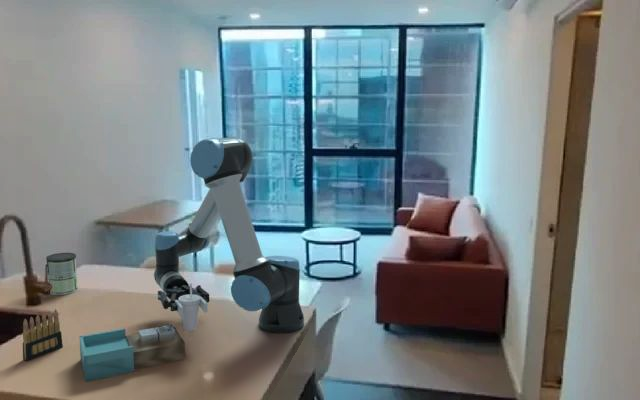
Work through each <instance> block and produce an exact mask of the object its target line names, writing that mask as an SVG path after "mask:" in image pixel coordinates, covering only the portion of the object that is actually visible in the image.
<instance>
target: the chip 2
mask: <svg viewBox="0 0 640 400" xmlns="http://www.w3.org/2000/svg"><path fill="white" fill-rule="evenodd" d="M173 327H174V326H173V325H172V324H166V325H161V326H156V327H155V329H156V331H157V332H158V340H159V341H165V340H170V339H175V329H176V328H175V329H174V328H173Z"/></svg>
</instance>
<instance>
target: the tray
mask: <svg viewBox="0 0 640 400" xmlns="http://www.w3.org/2000/svg"><path fill="white" fill-rule="evenodd" d="M126 336H127V334H126V328H120V329H115V330H109V331H108V330H107V331H103V332H97V333H90V334H85V335H79V337H78V338H79V355H80V363H81V368H82V371H83V372H82V373H83V377H84V382H85V383H87V382H91V381H95V380H101V379H103V378H104V379H105V378H109V377H110V378H111V377H114V376H117V375H118V376H119V375H122V374H126V373H131V372H132V373H133V372H135V370H134V356H133V346H129V344H128V342H127V339H126Z"/></svg>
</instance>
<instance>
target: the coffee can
mask: <svg viewBox="0 0 640 400" xmlns="http://www.w3.org/2000/svg"><path fill="white" fill-rule="evenodd" d="M76 258H77V254H76V253H73V252H57V253H53V254H50V255H47V256H46V257H45V259H46V268H47V267H48V271H47V281H48V280H49V282H50V283H51V284H52V286H53V290H52V291H51V293H50V294H49V295H52V296H65V295H70V294H73V293H75V292H78V289H79V288H78V276H77V275H78V273H77V259H76Z"/></svg>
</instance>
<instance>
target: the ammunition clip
mask: <svg viewBox="0 0 640 400" xmlns="http://www.w3.org/2000/svg"><path fill="white" fill-rule="evenodd" d="M59 319H60V318H59V313H58V311H57V309H56V308H55V309H54V311H53V315H52V312H51V311H50V310H49V311H48V315H47V317H46V314H45V312H42V315H41V318H40V316H39V315H38V314H36V317H35V321H34V318H33V316H30V318H29V323H28V321H27V319H26V318H24V319H23V325H22V330H23V332H22V339H23V340H22V360H23V361H25V362H29V361H31V360H34V359H37V358H40V357H42V356H44V355H47V354H50V353H52V352H55V351H57V350H60V349H62V348H63V347H64V345H63V335H62V331H61V325H60V324H61V323H60V320H59Z"/></svg>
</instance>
